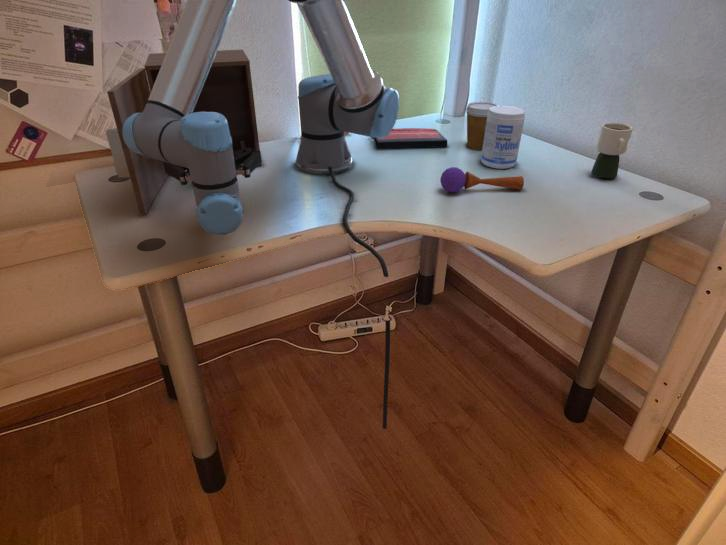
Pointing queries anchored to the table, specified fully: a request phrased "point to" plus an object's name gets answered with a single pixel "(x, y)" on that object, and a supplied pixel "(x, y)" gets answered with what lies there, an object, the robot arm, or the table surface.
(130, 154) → the cupboard
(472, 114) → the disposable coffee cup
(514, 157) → the supplement tub
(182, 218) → the table surface
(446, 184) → the kendama
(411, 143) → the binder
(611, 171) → the character mug
